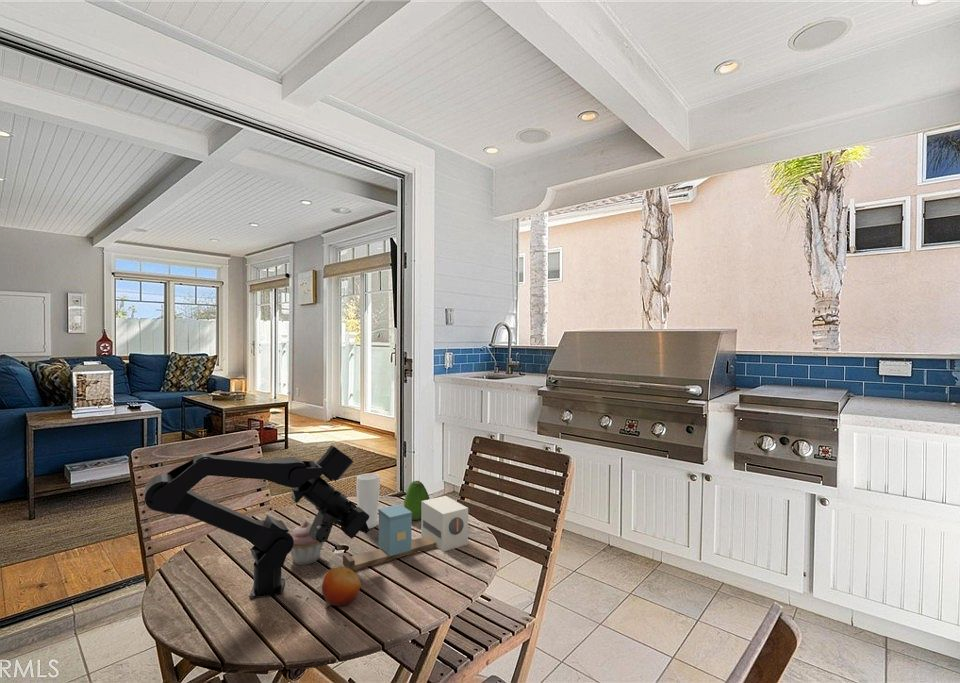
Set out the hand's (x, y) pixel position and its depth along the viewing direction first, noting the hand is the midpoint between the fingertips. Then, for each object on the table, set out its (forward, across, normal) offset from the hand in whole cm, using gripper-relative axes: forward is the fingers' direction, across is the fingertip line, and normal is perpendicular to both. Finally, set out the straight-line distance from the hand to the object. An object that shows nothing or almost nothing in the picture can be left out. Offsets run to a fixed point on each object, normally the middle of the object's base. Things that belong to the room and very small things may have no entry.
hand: (367, 531), depth 120 cm
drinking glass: (+12, -21, +1) cm, 24 cm away
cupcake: (-3, -10, -14) cm, 18 cm away
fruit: (-2, +14, -14) cm, 20 cm away
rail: (+10, 0, -1) cm, 10 cm away
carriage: (+10, 0, +1) cm, 10 cm away
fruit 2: (+22, -18, +11) cm, 31 cm away
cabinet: (+21, 0, +11) cm, 24 cm away
